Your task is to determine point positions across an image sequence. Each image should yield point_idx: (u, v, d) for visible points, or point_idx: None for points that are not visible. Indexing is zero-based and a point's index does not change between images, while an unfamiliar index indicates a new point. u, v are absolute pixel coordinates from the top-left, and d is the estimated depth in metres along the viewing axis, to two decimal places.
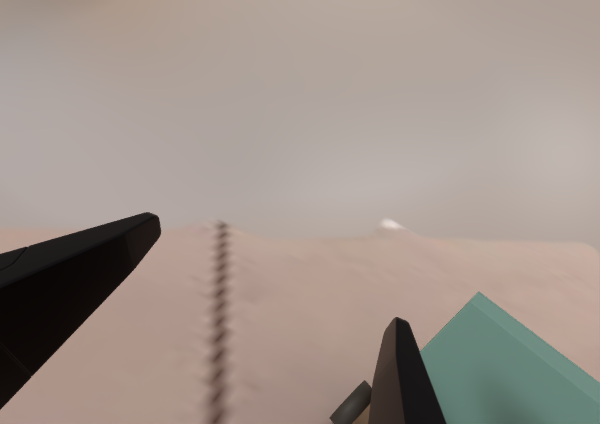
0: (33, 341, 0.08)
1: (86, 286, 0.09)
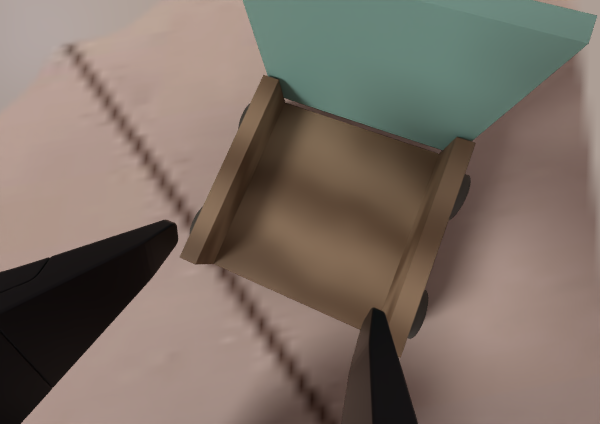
0: (55, 353, 0.08)
1: (107, 296, 0.08)
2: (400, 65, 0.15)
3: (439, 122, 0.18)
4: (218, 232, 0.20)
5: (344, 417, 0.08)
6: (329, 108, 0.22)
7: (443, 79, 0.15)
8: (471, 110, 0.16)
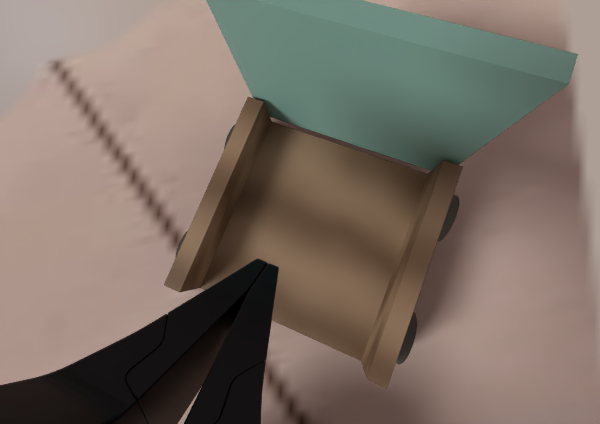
0: (170, 416, 0.07)
1: (214, 349, 0.08)
2: (382, 94, 0.15)
3: (425, 146, 0.18)
4: (204, 257, 0.20)
5: None
6: (316, 128, 0.22)
7: (426, 108, 0.14)
8: (456, 137, 0.16)
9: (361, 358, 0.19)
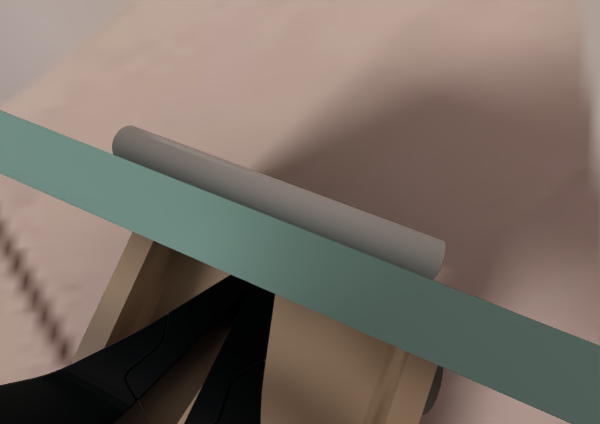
0: (170, 416, 0.07)
1: (214, 349, 0.08)
2: None
3: None
4: None
5: None
6: None
7: None
8: None
9: None
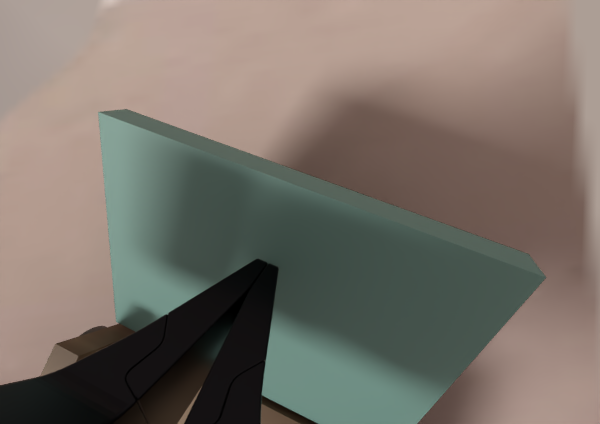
0: (170, 416, 0.07)
1: (214, 349, 0.08)
2: (303, 289, 0.10)
3: (359, 392, 0.12)
4: None
5: None
6: None
7: (363, 315, 0.10)
8: (406, 373, 0.10)
9: None
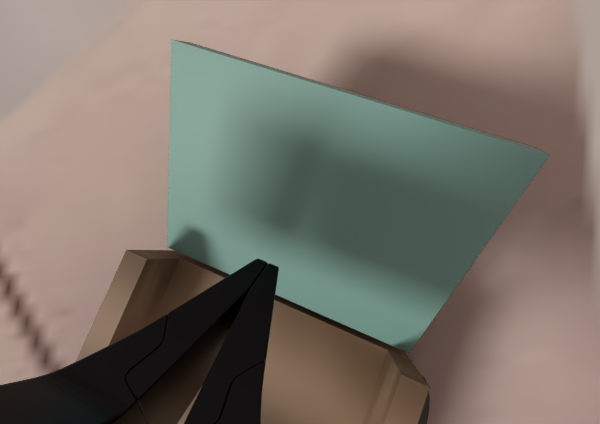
0: (170, 416, 0.07)
1: (214, 349, 0.08)
2: (343, 191, 0.12)
3: (387, 288, 0.14)
4: None
5: None
6: None
7: (394, 211, 0.12)
8: (429, 263, 0.12)
9: None
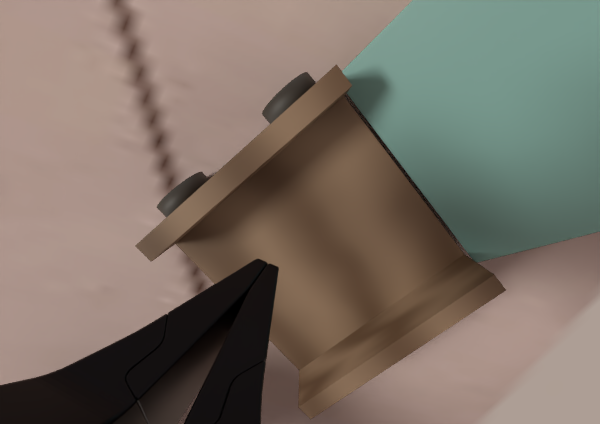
0: (170, 416, 0.07)
1: (214, 349, 0.08)
2: (569, 124, 0.13)
3: (513, 215, 0.16)
4: (191, 227, 0.17)
5: None
6: (394, 138, 0.17)
7: (592, 164, 0.13)
8: (569, 215, 0.15)
9: (300, 369, 0.21)
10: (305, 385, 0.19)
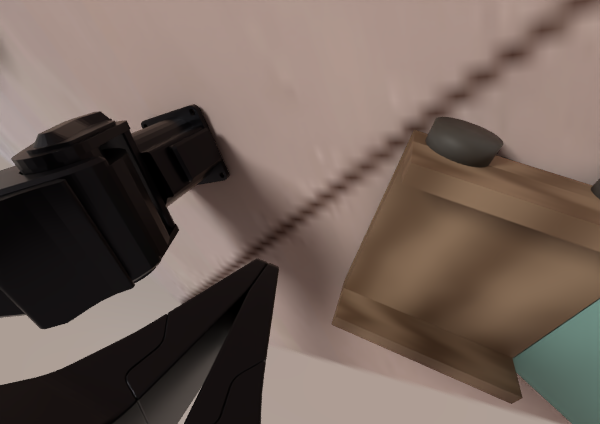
0: (170, 416, 0.07)
1: (214, 349, 0.08)
2: None
3: (576, 391, 0.20)
4: None
5: None
6: None
7: None
8: None
9: (345, 288, 0.25)
10: (345, 306, 0.23)
